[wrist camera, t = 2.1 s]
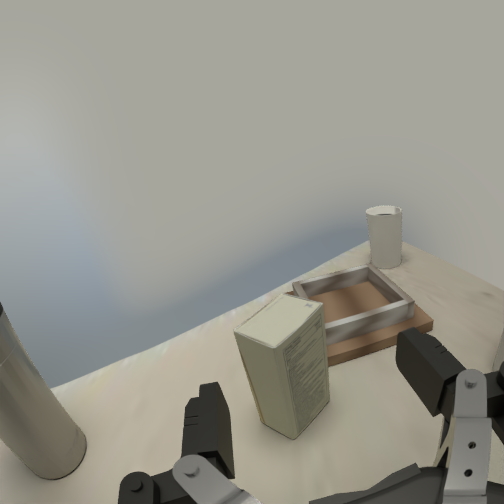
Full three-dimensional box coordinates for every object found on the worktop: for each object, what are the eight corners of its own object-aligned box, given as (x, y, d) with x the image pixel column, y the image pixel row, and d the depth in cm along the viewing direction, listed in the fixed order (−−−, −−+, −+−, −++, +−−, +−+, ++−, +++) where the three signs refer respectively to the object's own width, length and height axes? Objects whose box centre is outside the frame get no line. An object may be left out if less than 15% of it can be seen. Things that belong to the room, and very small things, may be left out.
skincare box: (297, 386, 30) (282, 290, 26) (332, 400, 27) (325, 301, 23) (259, 423, 26) (229, 328, 22) (294, 443, 23) (274, 347, 19)
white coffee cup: (410, 262, 50) (409, 210, 47) (383, 273, 49) (380, 218, 46) (388, 252, 56) (386, 203, 53) (362, 261, 55) (358, 210, 52)
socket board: (307, 372, 32) (304, 346, 31) (280, 302, 48) (276, 280, 47) (432, 329, 32) (435, 303, 31) (376, 277, 48) (375, 255, 47)
